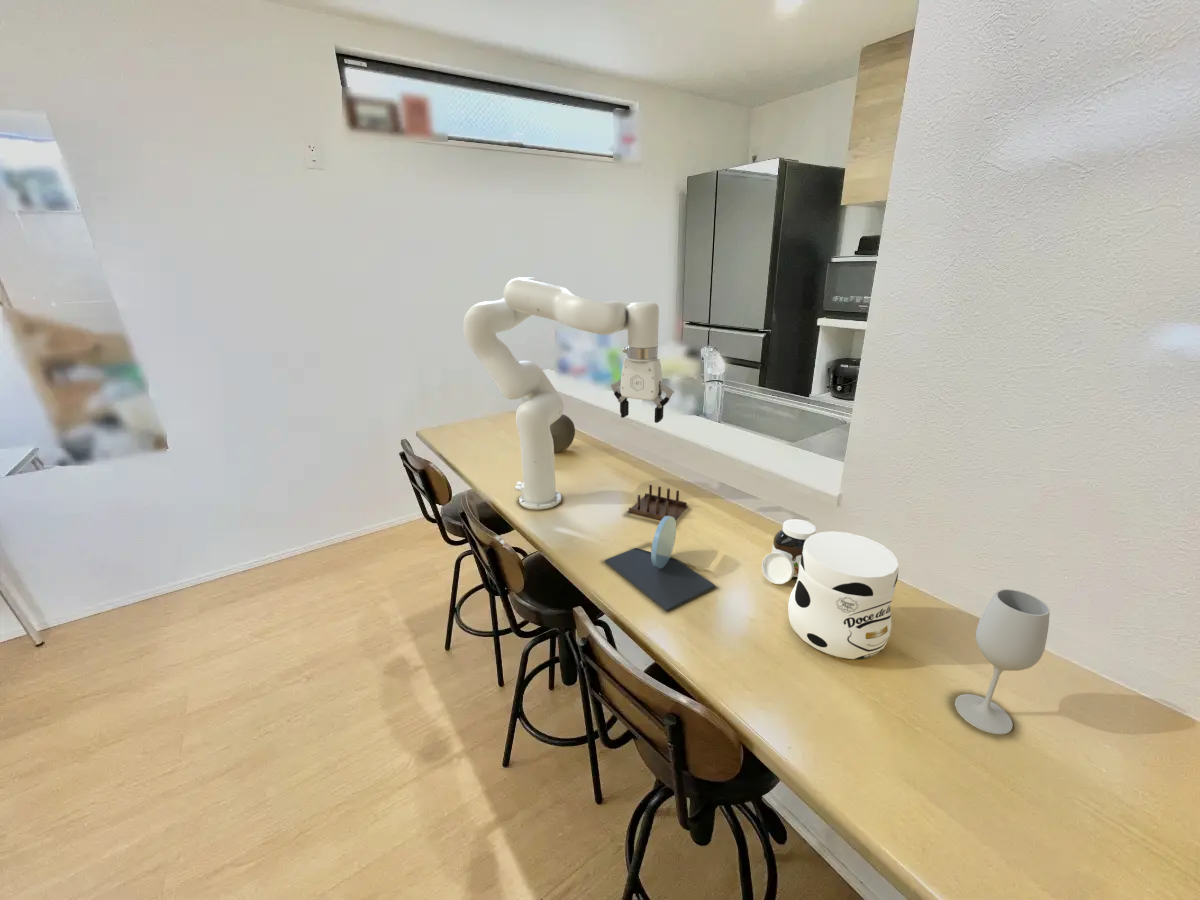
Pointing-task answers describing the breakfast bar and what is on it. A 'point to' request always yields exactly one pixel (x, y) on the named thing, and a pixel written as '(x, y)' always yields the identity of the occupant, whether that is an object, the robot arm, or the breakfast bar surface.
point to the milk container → (844, 595)
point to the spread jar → (787, 551)
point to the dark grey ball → (562, 433)
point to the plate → (663, 542)
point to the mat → (660, 578)
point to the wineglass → (1005, 651)
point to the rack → (658, 506)
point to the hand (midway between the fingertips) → (641, 418)
